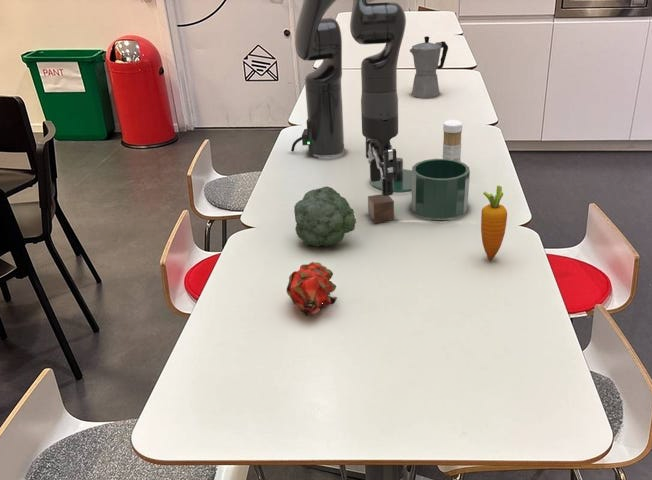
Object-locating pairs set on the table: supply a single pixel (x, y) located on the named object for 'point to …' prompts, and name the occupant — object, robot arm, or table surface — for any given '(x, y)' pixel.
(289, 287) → the dragon fruit
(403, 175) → the lid
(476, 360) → the table surface
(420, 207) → the pot
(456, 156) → the sprinkles bottle
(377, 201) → the block
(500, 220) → the carrot
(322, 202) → the vegetable
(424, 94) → the coffeepot
